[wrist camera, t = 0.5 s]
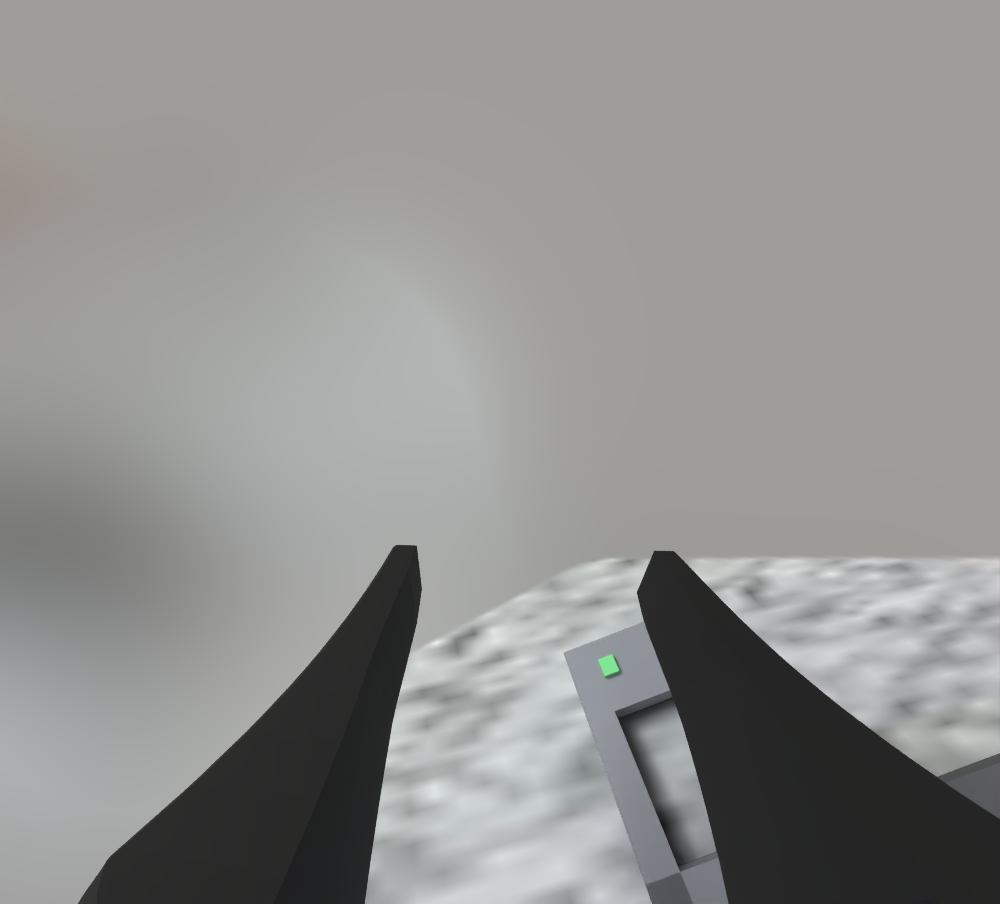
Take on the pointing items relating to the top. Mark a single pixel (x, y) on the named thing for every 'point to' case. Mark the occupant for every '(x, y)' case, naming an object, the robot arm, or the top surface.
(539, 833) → the top surface
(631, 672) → the frame
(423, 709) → the top surface
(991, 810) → the holster
